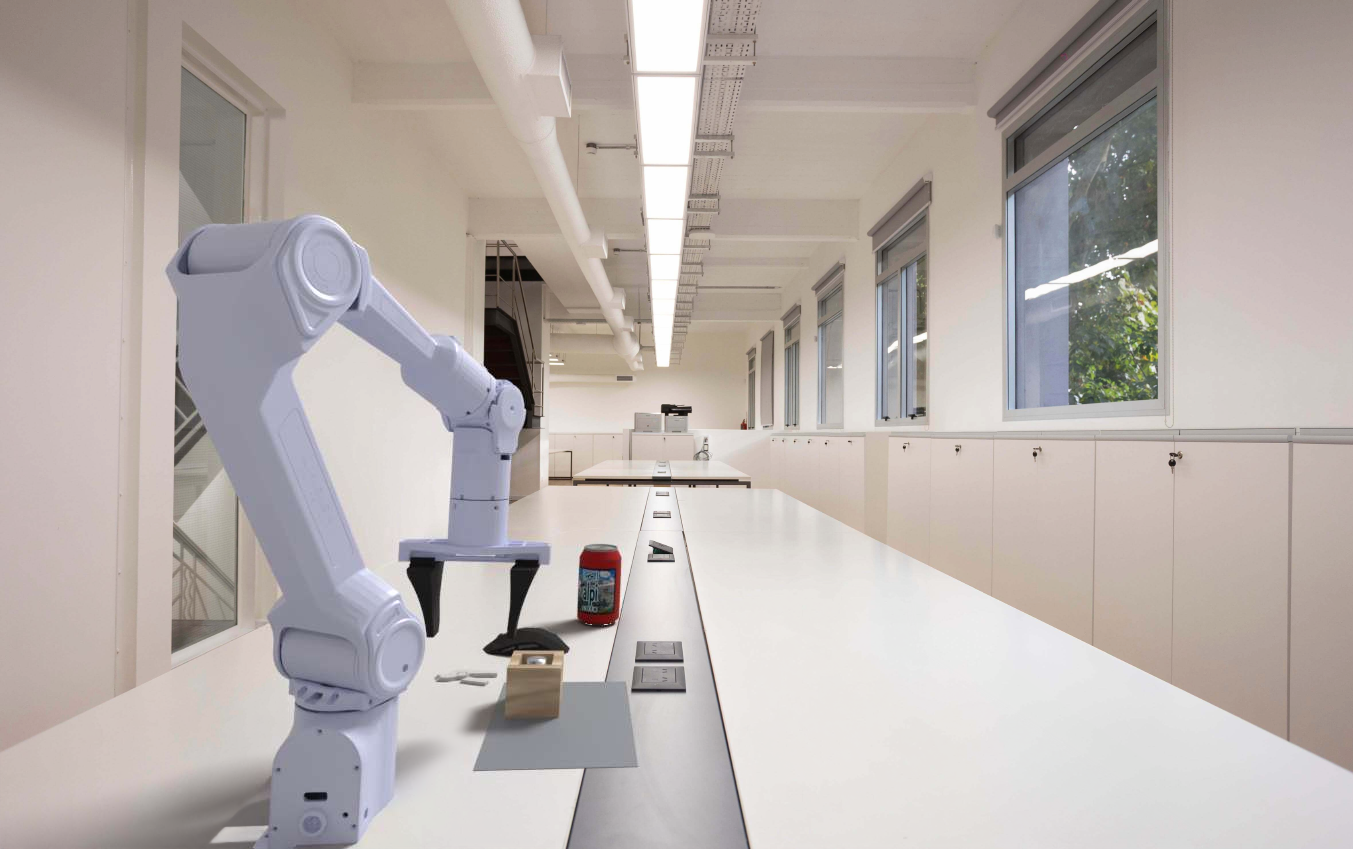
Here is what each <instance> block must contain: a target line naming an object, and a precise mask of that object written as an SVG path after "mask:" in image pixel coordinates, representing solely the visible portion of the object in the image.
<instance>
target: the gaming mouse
mask: <svg viewBox="0 0 1353 849" xmlns="http://www.w3.org/2000/svg"><path fill="white" fill-rule="evenodd" d="M482 651H484V653H485V654H488V655H493V656H502V657H512V654H513V652H514V651H564V655H566V654H568V653H569V651H570V647H569V646H568V645H567V643H566V642H564V640H562V638H561V637H560V636H558V635H557V634H556V633H555V632H551V631H549V630H547V629H545V628H543V627H528V626H527V627H519V628H517V633H516V635H515V638H507V631H506V632H504V633H503V632H502V633H499V634H498V635H497V636H496V637H495V638H494V639H493V640H492V641H490V642H488V644H486V645H485V646H484V647H483V648H482Z"/></svg>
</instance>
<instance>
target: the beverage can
mask: <svg viewBox="0 0 1353 849" xmlns="http://www.w3.org/2000/svg"><path fill="white" fill-rule="evenodd" d="M618 548H619V547H618V546H617V545H613V544H609V543H591V544H590V543H589V544H586V545H584V547H583V550H582V551H581V553H580V555H579V558H578V560H579V562H578V578H577V579H578V583H577V607H576V612H577V613H576V618H577V619H578V620H579V621H580V622H582V623H583V622H584V623H587V624H592V625H604V624H610V623H612V624H614V622H616V621H617V620H618V619H619V618H620V606H621V586H622V584H621V582H622V555H621V553H620V550H619V549H618ZM584 623H583V624H584ZM610 625H611V624H610Z"/></svg>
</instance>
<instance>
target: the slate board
mask: <svg viewBox="0 0 1353 849" xmlns="http://www.w3.org/2000/svg"><path fill="white" fill-rule="evenodd" d="M505 699H506V682H504V683H503V686H502V688H501V691H500V693H499V697H498V699H497V703H496V706H495V707H494V711H493V714H492V716H491V719H490V722H489V725H488V728H487V731H486V733H485V736H484V739H483V742H482V745H481V747H480V751H479V753H478V756H477V758H476V762H475V763H474V767H473V769H472V771H473V772H484V771H485V772H487V771H529V770H530V771H531V770H561V769H562V770H567V769H568V770H569V769H575V770H576V769H608V768H609V769H612V768H615V769H616V768H617V769H618V768H639V764H638V758H637V750H636V743H635V737H634V735H635V734H634V728H633V722H632V714H631V708H630V701H629V694H628V686H627V681H563V685H562V700H561V707H560V713H559V718H505Z"/></svg>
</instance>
